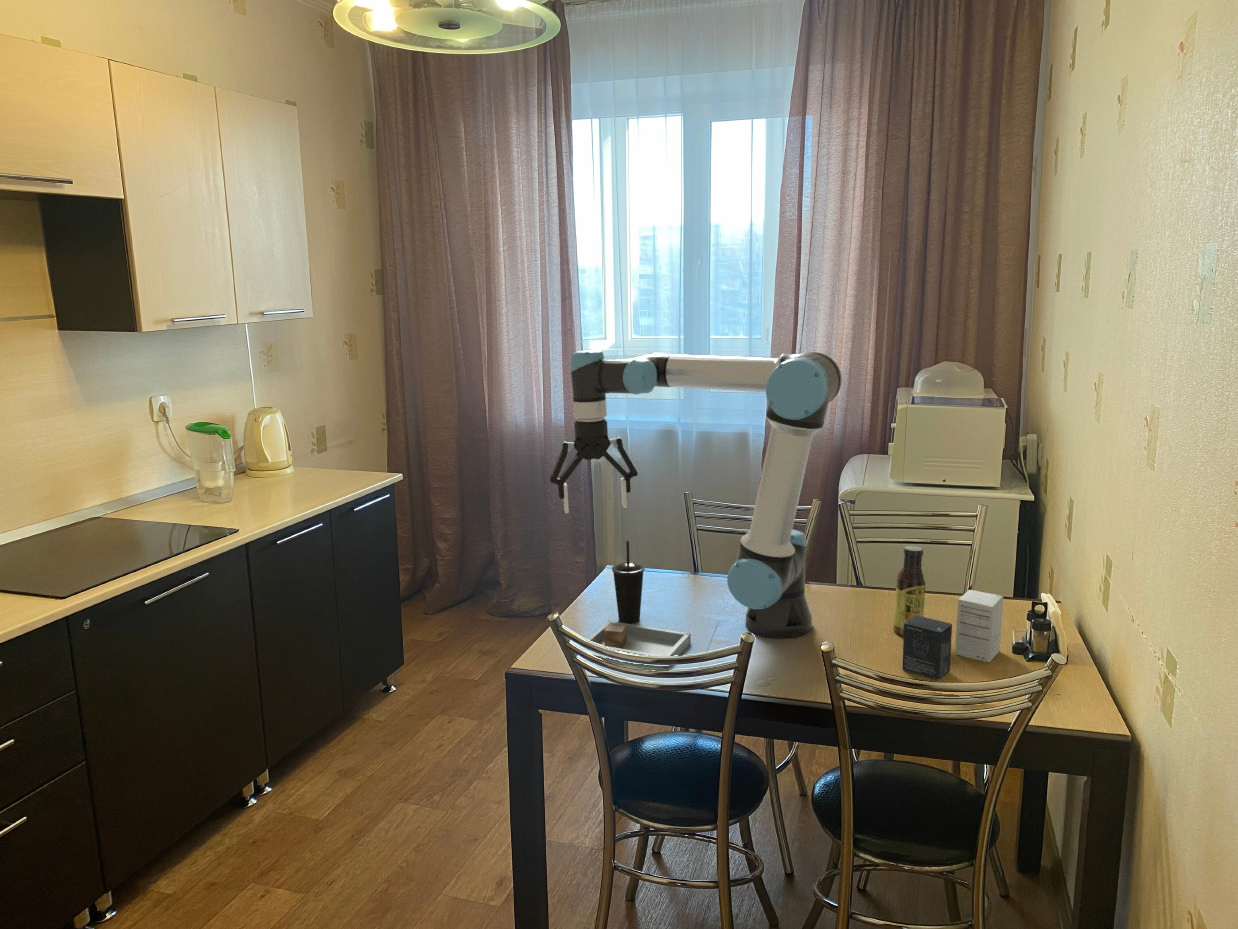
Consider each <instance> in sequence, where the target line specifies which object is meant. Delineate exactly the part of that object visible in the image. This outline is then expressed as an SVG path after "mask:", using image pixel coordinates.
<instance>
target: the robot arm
mask: <svg viewBox="0 0 1238 929" xmlns="http://www.w3.org/2000/svg"><path fill="white" fill-rule="evenodd" d="M841 371H842V370H841V369H840V366H839V365H838V363H837V362H836V361H835V359H833V358H832V357H830V356H829V355H827V354H825V353H822V352H818V351H812V352H811V351H810V352H805V353H782V354H781V355H780V356H779V357H753V356H751V357H750V356H749V357H748V356H724V355H721V356H720V355H697V354H695V355H693V354H692V355H691V354H690V355H689V354H669V353H668V354H667V353H664V352H657V351H656V352H649V353H647V354H644V355H640V356H636V357H630V358H623V359H620V358H619V359H606V358H605V355H604V352H603V351H602V350H600V349H599V350H598V349H596V350H595V349H590V350H589V349H585V350H578V351H577V350H576V351H575V352H573V353H572V354H571V355H570V371H569V372H570V374H571V376H570V377H571V386H572V387H571V389H572V406H573V418H574V419H575V420H574V423H573V424H574V426H573V427H574V441H573V442H572V441H571V442H569V441H568V442H567V441H566V440H562V442H561V451H560V453H559V455H558V458H557V460H556V462H555V464H554V467H553V468H552V469H553V470H552V472H551V474H550V477H549V481H550V483H551V484H555V485H557V490H558V491H557V492H558V497H559V499H560V500H563V509H564V513H565V514H569V513H570V512H569V511H570V509H569V494H568V491H569V490H568V484H567V483H566V482H567V480H568V479H569V478H570V477H571V475H572V474H573V472H574V471H575V470H576V469H577V467H578V466H579V464H580V463H581V462H582V461H583V460H586V461H591V460H601V458H603V457H604V459H606V460H607V461H608V463H610V465H611V466H612V467H614V468H615V470H617V472H618V473H619V474H620V475H621V476H622V477H621V478H620V492H621V493H620V494H621V506H622V507H623V509H626V508H628V499H627V497H628V496H627V494H629V493H631V491H632V490H631V489H632V488H631V479H632V478H634V477H638V471H637V469H636V467H635V466H634V465H633V462H632V461H631V459H630V457H629V455H628V453H627V452H626V450H625V448H624V445H623V444H624V443H623V440H622V438H621V437H619V436H616V437H615V438H609V435H608V434H609V431H608V420H607V419H606V417H607V415H608V413H607V397H606V395H607V394H632V395H640V394H649V393H651V392H653V391H654V388H655V387H656V388H657V387H659V388H660V387H661V388H683V389H685V388H686V389H698V390H701V389H702V390H717V391H736V392H753V393H765V396H766V400H767V402H768V405H767V410H766V415H765V418H766V420H767V421H768V423H769V424H770V425H771V427H770V432H769V438H768V441H767V447H766V452H765V456H764V461H763V466H762V471H761V476H760V481H759V485H758V489H757V496H756V499H755V505H754V509H753V514H752V519H751V524H750V529H749V532H747V533H746V534H744V535H743V536H742V537H741V538H740V542H739V547H738V551H737V556H736V560H735V562H733V564H732V565H731V566H730V568H729V570H728V573H727V576H726V577H727V578H726V579H727V580H726V581H727V583H726V584H727V588H728V590H729V592H730V594H731V595H732V597H733V598H734V599H735V600H736V601H737V602H738V603H740V604H741V605H742V606H744V607H746V608H747V611H746V613H745V626H746V628H747V630H749V631H751V632H752V633H754V634H757V635H760V636H762V637H763V636H764V637H767V638H774V639H776V638H777V639H791V638H797V637H800V636H804V635H806V634H807V633H809V632H810V631H811V630H812V627H813V626H812V625H813V618H812V614H811V611H810V607H809V605H808V601H807V598H806V594H805V593H806V592H805V591H806V589H805V588H806V561H807V560H806V557H807V556H806V553H807V551H806V550H807V544H806V543H807V541H806V535H805V533H803V532H802V531H800V530H797V529H793V527H794V524H795V519H796V513H797V509H798V505H799V500H800V496H801V493H802V492H801V491H802V487H803V484H804V483H803V482H804V477H805V474H806V469H807V465H808V464H807V463H808V459H809V455H810V451H811V447H812V443H813V442H812V441H813V438H814V435H815V434H816V433H818V432H819V431H820V430H822V429H823V428H824V424H825V423H824V422H825V419H826V414H827V410H828V405H829V403H831V402H832V401H833V400H834V399H835V398H836V397H837V395H838V394H839V393H840V389H841V387H842V382H843V380H842V372H841ZM611 445H612V446H613V448H616V449H617V451H618V453H619V454H620V456H621V457H622V460H623V462H624V464H625V465H626V466H627V468H628V470H629V471H626V470H625V468H623V467H622V465H620V463H618V462H617V461H616V460H615V459H614V457H613V456H612V455H610V454H609V453H610V452H609V453H608V451H607V450H608V449H609V448H610V446H611ZM572 449H575V450H576V454H575V455H574V457H573V459H572V460H571V461H570V463H569V464H568V465H567V467H566V468H565V469H564V471H563V472H562V473H561V470H562V468H563V465H564V463H565V461H566V458H567V456H568V453H569V452H570V451H571V450H572ZM560 473H561V475H560V476H559V474H560Z"/></svg>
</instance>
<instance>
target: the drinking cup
mask: <svg viewBox="0 0 1238 929" xmlns="http://www.w3.org/2000/svg"><path fill="white" fill-rule="evenodd" d="M625 544H626V547H625V548H626V561H623V562H619V563H616V564H614V565H613V566H612V567H611V571H612V573H613V580H614V590H615V599H616V606H617V608H616V609H617V614H618V622H620V623H627V624H633V625H636V624H638V623H639V622H640V619H641V608H642V607H641V606H642V594H643V592H642V591H643V584H644V583H643V580H644V571H645V569H646V568H645V566H644V565H643V564H642V563H638V562H635V561H630V541H629V540H627V541H626V542H625Z"/></svg>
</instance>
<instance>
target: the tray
mask: <svg viewBox="0 0 1238 929" xmlns="http://www.w3.org/2000/svg"><path fill="white" fill-rule="evenodd" d="M608 624H622V625H626V628H627V642H626V644H625V645H624V647H623V649H620V648H614V647H609V646H605V641H604V630H605V629H606V627H607V626H608ZM691 636H692V635H691V633H689V632H682V631H676V630H669V629H662V628H658V627H657V628H656V627H651V626H644V625H638V624H627V623H621V622H619V621H612V620H608V621H606V622H605V623H604V624H603V625H602V626H601V627H599V628H598V629H596V631H594V632H593V633H592V634H591V635H590V636H588V637H587V638H586V639H588V640H590V641H593V642H596V643H599V644H602V645H604V646H605V647H608V648H610V649H613V650H617V651H623V652H627V653H633V654H639V655H648V656H674V655H679V656H680V655H681V654H682V653H683V652H684V651H685V650H686V649H687V647H688V646H689V645H690V644H691V640H692V638H691ZM653 667H654V668H655V667H656V668H659V669H668V668H669V667H670V666H653Z"/></svg>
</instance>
